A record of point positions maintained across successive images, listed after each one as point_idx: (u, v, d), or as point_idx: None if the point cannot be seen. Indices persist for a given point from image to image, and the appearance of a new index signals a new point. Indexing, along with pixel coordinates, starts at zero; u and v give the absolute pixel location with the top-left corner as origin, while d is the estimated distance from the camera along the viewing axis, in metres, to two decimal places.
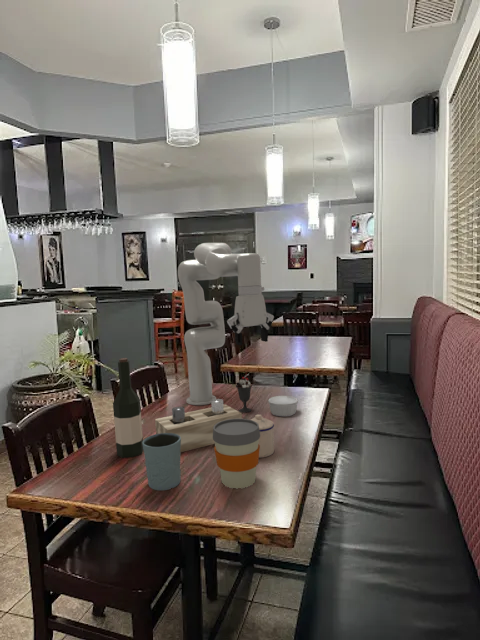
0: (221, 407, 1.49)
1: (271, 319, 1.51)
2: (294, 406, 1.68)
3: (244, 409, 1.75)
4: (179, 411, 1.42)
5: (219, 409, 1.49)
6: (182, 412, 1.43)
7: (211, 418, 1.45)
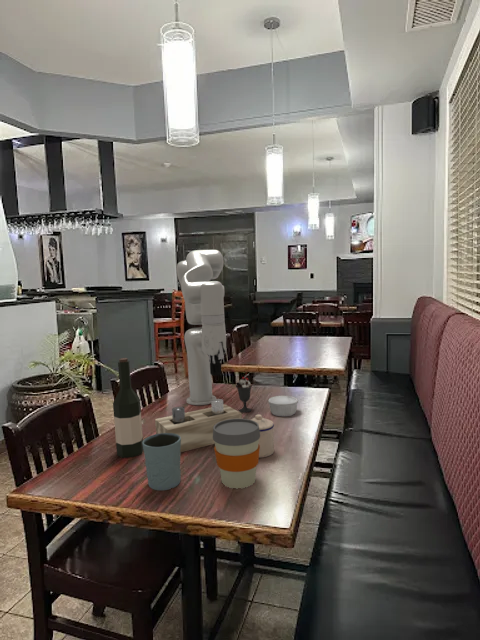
0: (221, 407, 1.49)
1: None
2: (294, 406, 1.68)
3: (244, 409, 1.75)
4: (179, 411, 1.42)
5: (219, 409, 1.49)
6: (182, 412, 1.43)
7: (211, 418, 1.45)
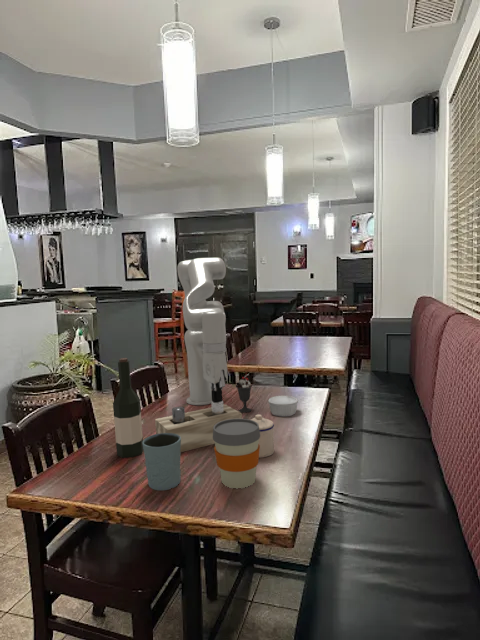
0: (221, 408, 1.49)
1: None
2: (294, 406, 1.68)
3: (244, 409, 1.75)
4: (179, 411, 1.42)
5: (219, 409, 1.49)
6: (182, 412, 1.43)
7: (211, 418, 1.45)
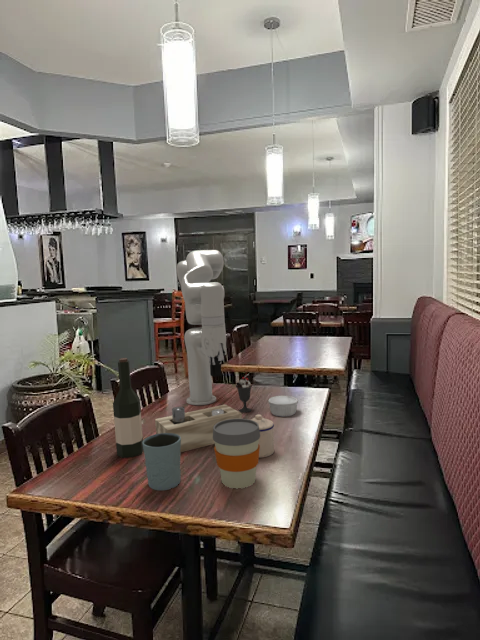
0: None
1: None
2: (294, 406, 1.68)
3: (244, 409, 1.75)
4: (179, 411, 1.42)
5: None
6: (182, 412, 1.43)
7: (211, 418, 1.45)
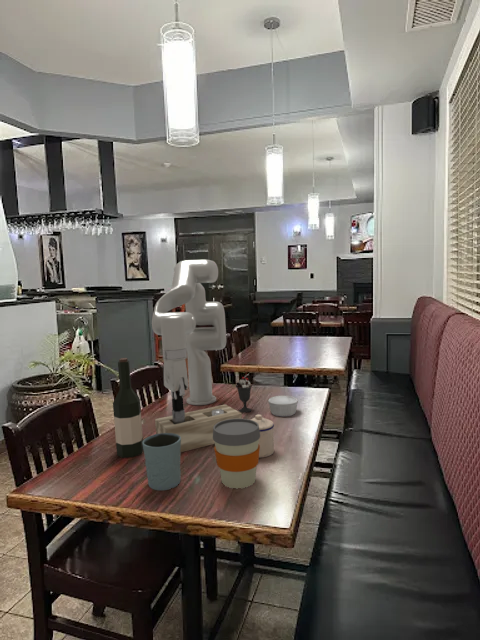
0: None
1: None
2: (294, 406, 1.68)
3: (244, 409, 1.75)
4: (179, 412, 1.42)
5: None
6: (182, 413, 1.43)
7: (211, 418, 1.45)
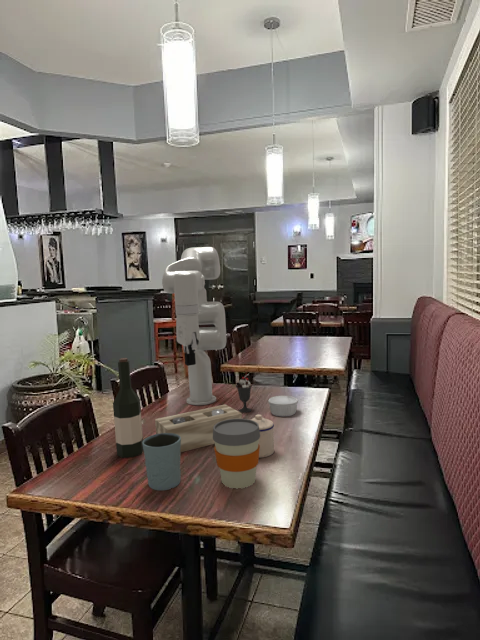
0: None
1: None
2: (294, 406, 1.68)
3: (244, 409, 1.75)
4: (179, 422, 1.42)
5: None
6: None
7: (211, 418, 1.45)
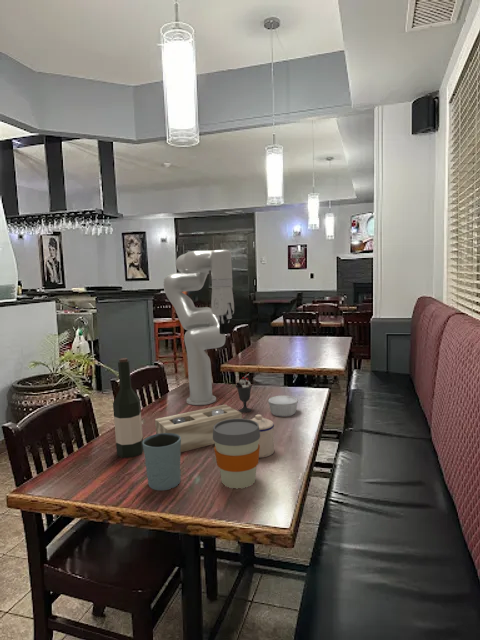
0: None
1: None
2: (294, 406, 1.68)
3: (244, 409, 1.75)
4: (179, 422, 1.42)
5: None
6: None
7: (211, 418, 1.45)
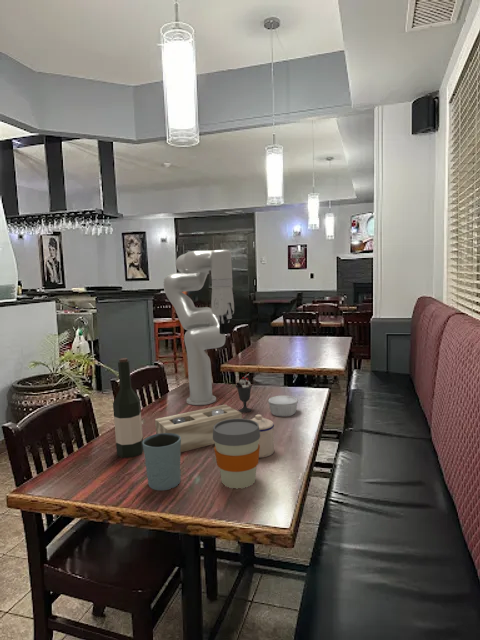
0: None
1: None
2: (294, 406, 1.68)
3: (244, 409, 1.75)
4: (179, 422, 1.42)
5: None
6: None
7: (211, 418, 1.45)
